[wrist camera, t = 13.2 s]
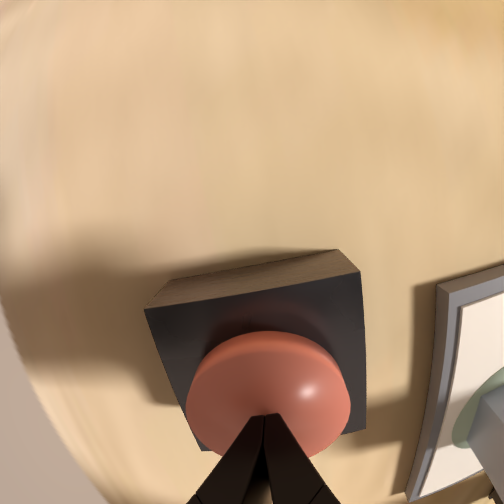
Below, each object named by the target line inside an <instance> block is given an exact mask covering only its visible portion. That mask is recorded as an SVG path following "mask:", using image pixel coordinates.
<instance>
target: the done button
mask: <svg viewBox="0 0 504 504" xmlns="http://www.w3.org/2000/svg"><path fill="white" fill-rule="evenodd" d="M350 406H351V404H350V397H349V394H348V391H347V388H346V385H345V382H344V380H343V377H342V374H341V371H340V368H339V366H338V364H337V363H336V361H335V359H334V358H333V357H332V356H331V354H330V353H329V352H327V351H326V350H325V349H324V348H323V347H321V346H320V345H319V344H317V343H316V342H314V341H312V340H310V339H308V338H305V337H302V336H299V335H296V334H292V333H288V332H280V331H259V332H251V333H247V334H242V335H239V336H236V337H233V338H231V339H229V340H227V341H225V342H223V343H221V344H220V345H218V346H216V347H215V348H214V349H213V350H211V351H210V352H209V353H208V354H207V355H206V356H205V357H204V359H203V360H202V361H201V363H200V365H199V366H198V368H197V371H196V373H195V376H194V379H193V381H192V384H191V387H190V390H189V393H188V396H187V400H186V416H187V420H188V423H189V426H190V428H191V429H192V431H193V433H194V434H195V435H196V437H197V438H198V439H199V440H200V441H201V442H202V443H203V444H204V445H205V446H206V447H208V448H209V449H210V450H212V451H213V452H215V453H217V454H219V455H221V456H223V455H224V454H225V453H226V451H227V450H228V449H229V447H230V446H231V444H232V443H233V442H234V440H235V439H236V437H237V436H238V434H239V433H240V432H241V430H242V429H243V427H244V426H245V424H246V423H247V421H248V420H249V418H250V417H251V416H256V415H265V416H266V415H267V414H272V413H279V414H280V415H281V416H282V418H283V419H284V421H285V423H286V424H287V426H288V427H289V429H290V430H291V432H292V434H293V435H294V437H295V438H296V440H297V441H298V443H299V444H300V446H301V448H302V449H303V451H304V452H305V454H306V455H307V457H308V458H309V457H311V456H313V455H315V454H317V453H319V452H321V451H322V450H324V449H325V448H327V447H328V446H329V445H330V444H332V443H333V442H334V441H335V440H336V439H337V438H338V436H339V435H340V434H341V433H342V431H343V429H344V428H345V426H346V424H347V421H348V419H349V415H350Z"/></svg>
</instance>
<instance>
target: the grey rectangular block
mask: <svg viewBox="0 0 504 504" xmlns="http://www.w3.org/2000/svg"><path fill="white" fill-rule="evenodd" d="M466 441H467V443H468V444H469V446H470V448H471V449H472V451H473V452H474V454H475V456H476V457H477V459H478V461H479V462H480V464H481V466H482V467H483V469H484V471H485V472H486V474H487V476H488V477H489V479H490V481H491V483H492V484H493V486H494V488H495V489H496V491H497V493H498V495H499V497H500V498H501V500H502V502H503V504H504V385H502V386H500V387H498V388H496V389H494V390H492V391H490V392H488V393H486V394H484V395H482V396H481V398H480V401H479V404H478V407H477V411H476V414H475V417H474V420H473V423H472V426H471V428H470V431H469V434H468V437H467V439H466Z"/></svg>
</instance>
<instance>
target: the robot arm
mask: <svg viewBox="0 0 504 504" xmlns="http://www.w3.org/2000/svg"><path fill="white" fill-rule="evenodd" d="M488 498H489V499H492V498H493V500H494V501H495V503H496V504H503V502H502V500H501V498H500V497H499V495H498V493H497V491H496V489H495V488H494V489H493V491H492V492H491V493H490V495H489V496H488ZM272 503H273V504H341V503H340V502H339V501H338V499H337V498H336V497H335V496H334V494H333V493H332V492H331V490H330V489H329V487H328V486H327V485H326V484H325V482H324V480H323V479H322V477H321V476H320V474H319V473H318V472H317V470H316V469H315V467H314V466H313V464H312V463H311V461H310V460H309V458H308V457H307V455H306V454H305V452H304V451H303V449H302V448H301V446H300V444H299V443H298V441H297V440H296V438H295V437H294V435H293V434H292V432H291V430H290V429H289V427H288V426H287V424H286V423H285V421H284V419H283V418H282V416H281V415H280V414H279V413H272V414H267V415H266V416H265V415H256V416H251V417H250V418H249V420H248V421H247V423H246V424H245V426H244V427H243V429H242V430H241V432H240V433H239V434H238V436H237V437H236V439H235V440H234V442H233V443H232V444H231V446H230V447H229V449H228V450H227V451H226V453H225V454H224V455H223V457H222V458H221V460H220V461H219V462H218V464H217V465H216V466H215V468H214V469H213V470H212V472H211V473H210V474H209V476H208V477H207V478H206V480H205V481H204V482H203V484H202V485H201V486H200V487H199V489H198V490H197V491H196V494H194V495H193V496H192V497H191V499H190V500H189V501H188V502H187V503H186V504H272Z"/></svg>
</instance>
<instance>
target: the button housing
mask: <svg viewBox="0 0 504 504" xmlns="http://www.w3.org/2000/svg"><path fill="white" fill-rule="evenodd" d="M144 312H145V315H146V318H147V321H148V324H149V327H150V330H151V333H152V336H153V338H154V341H155V344H156V347H157V349H158V352H159V355H160V357H161V360H162V363H163V365H164V368H165V370H166V373H167V375H168V378H169V380H170V383H171V385H172V388H173V390H174V392H175V395H176V397H177V400H178V402H179V404H180V406H181V409H182V411H183V413H184V415H185V418H186V420H187V416H186V400H187V396H188V393H189V390H190V387H191V384H192V381H193V379H194V376H195V373H196V371H197V368H198V366H199V365H200V363H201V361H202V360H203V359H204V357H205V356H206V355H207V354H208V353H209V352H210V351H211V350H213V349H214V348H215V347H216V346H218V345H220V344H221V343H223V342H225V341H227V340H229V339H231V338H233V337H236V336H239V335H242V334H247V333H251V332H259V331H280V332H288V333H292V334H296V335H299V336H302V337H305V338H308V339H310V340H312V341H314V342H316V343H317V344H319V345H320V346H321V347H323V348H324V349H325V350H326V351H327V352H329V353H330V354H331V356H332V357H333V358H334V359H335V361H336V363H337V364H338V366H339V368H340V371H341V374H342V377H343V380H344V382H345V385H346V388H347V391H348V394H349V397H350V404H351V406H350V415H349V419H348V421H347V424H346V426H345V428H344V429H343V431H342V433H341V434H340V435H342V434H347V433H351V432H355V431H359V430H363V429H366V346H365V325H364V309H363V296H362V284H361V274H360V270H359V269H358V268H357V267H356V266H355V265H354V264H353V263H352V262H351V261H350V260H349V259H348V258H347V257H346V256H345V255H344V254H343V253H342V252H341V251H340V250H339V249H338V250H333V251H328V252H323V253H317V254H312V255H307V256H302V257H296V258H291V259H286V260H280V261H275V262H270V263H264V264H259V265H253V266H248V267H242V268H237V269H231V270H226V271H220V272H215V273H209V274H204V275H198V276H192V277H187V278H181V279H175V280H170V281H168V282H167V283H166V284H165V286H164V287H163V288H162V289H161V290H160V291H159V292H158V293H157V294H156V296H155V297H154V298H153V299H152V300H151V301H150V302H149V303H148V305H147V306H146V307H145V308H144ZM187 422H188V420H187ZM188 424H189V423H188ZM190 429H191V428H190ZM191 431H192V429H191ZM192 433H193V431H192ZM193 435H194V437H195V439H196V441H197V443H198V445H199V447H200V449H201V451H212V450H210V449H209V448H208V447H206V446H205V445H204V444H203V443H202V442H201V441H200V440H199V439H198V438H197V437H196V435H195V434H194V433H193Z"/></svg>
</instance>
